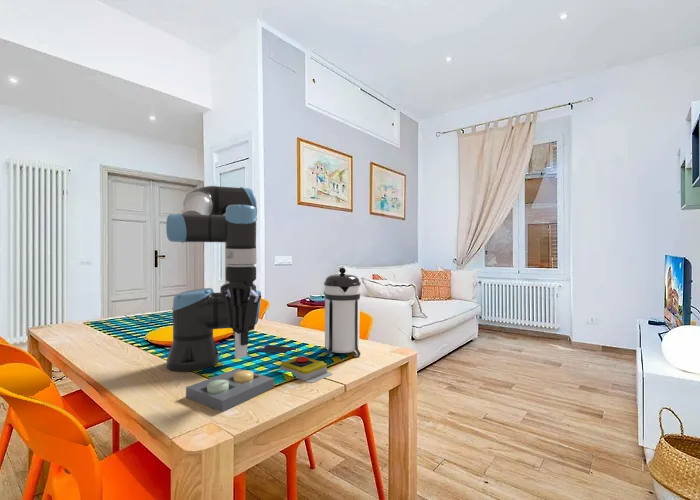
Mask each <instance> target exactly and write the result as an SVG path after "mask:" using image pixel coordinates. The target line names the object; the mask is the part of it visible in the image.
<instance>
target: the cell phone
mask: <svg viewBox="0 0 700 500" xmlns="http://www.w3.org/2000/svg"><path fill="white" fill-rule="evenodd" d="M296 348H297V349H298V350H299V348H298V347H293V346H292V347H291V346H283V345H282V346H281V345H272V344H265V345H263V346H261V347H259V348H256V349H255V351H256V352H259V351H261V352H260V353H267V352H272V353H271V354H275V353H286V352H287V351H291V350H296Z"/></svg>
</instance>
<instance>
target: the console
mask: <svg viewBox="0 0 700 500" xmlns="http://www.w3.org/2000/svg"><path fill="white" fill-rule="evenodd" d="M243 370H244V369H241V368H236V369H233V370H230V371H226V372H224V373H221V374H219V375H218V374H217V376H213V377H211V378H208V379H205V380H202V381H200V382H196V383H194V384H191V385H188V386H186V387H185V397H186V398H188V399H190V400H192V401H195V402H198V403H200V404H202V405H205V406H207V407H210V408H212V409H215V410H217V411H219V412H225V411H228V410H230V409H232V408H234V407H236V406H238V405H240V404H242V403H245V402H247V401H250V399H253V398H255V397H257V396H259V395H261V394H264V393H266V392H269V391H270V390H272V389H274V387H275V385H274V383H275V381H274V380H275V379H274V378H273V377H270V376H265V375H264V374H263V375H262V374H260V373H255V372H253V380H251V381H248V382H246V383H244V384H241V383H238V382H235V381H234V373H236V372H238V371H243ZM215 380H227V381H228V382H229V390H227V391H224V392H222V393H219V394H217V395H213V394H211V393H208V392H207V384H208V383H209V382H211V381H215Z"/></svg>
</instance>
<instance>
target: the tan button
mask: <svg viewBox="0 0 700 500" xmlns="http://www.w3.org/2000/svg"><path fill="white" fill-rule="evenodd" d="M242 370H243V371H238V372H236V373H234V381H235V382H238V383H241V384H244V383H246V382H248V381H251V380H253V373H254V371H252V370H246V369H242Z"/></svg>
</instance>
